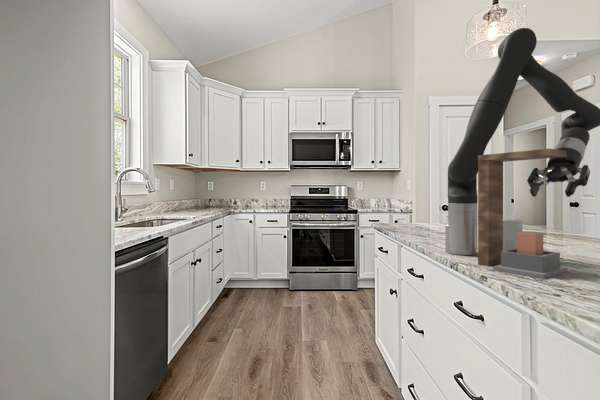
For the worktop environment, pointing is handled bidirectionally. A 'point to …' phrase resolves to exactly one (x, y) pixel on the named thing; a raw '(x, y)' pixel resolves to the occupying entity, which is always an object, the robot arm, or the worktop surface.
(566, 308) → the worktop surface
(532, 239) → the peg
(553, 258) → the socket
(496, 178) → the wooden l-shaped bracket
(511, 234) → the skincare box
